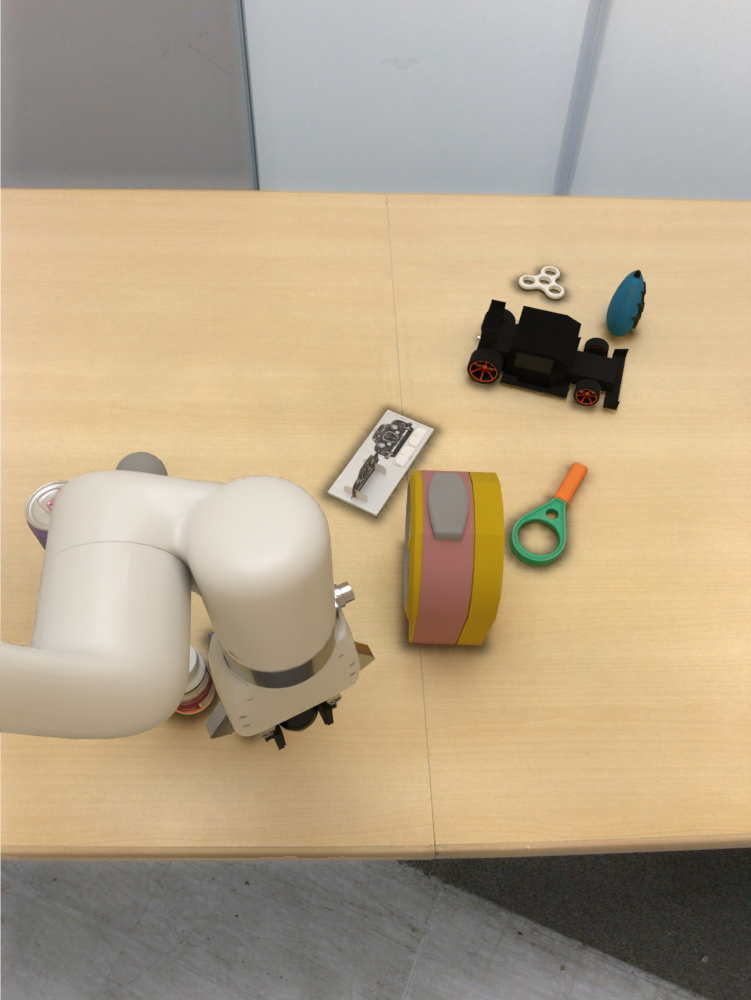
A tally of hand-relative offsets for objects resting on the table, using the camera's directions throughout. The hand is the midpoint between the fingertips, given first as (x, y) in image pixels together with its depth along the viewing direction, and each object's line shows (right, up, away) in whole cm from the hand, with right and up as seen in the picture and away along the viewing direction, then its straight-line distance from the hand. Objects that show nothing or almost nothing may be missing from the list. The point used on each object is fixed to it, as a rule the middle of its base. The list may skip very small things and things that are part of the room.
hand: (299, 720), depth 62 cm
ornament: (+41, +43, +43) cm, 73 cm away
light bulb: (-19, +17, +24) cm, 35 cm away
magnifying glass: (+27, +17, +25) cm, 40 cm away
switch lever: (-2, +3, +2) cm, 4 cm away
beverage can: (-23, +9, +19) cm, 31 cm away
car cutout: (+7, +23, +29) cm, 38 cm away
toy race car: (+29, +36, +38) cm, 60 cm away
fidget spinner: (+32, +50, +48) cm, 76 cm away
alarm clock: (+13, +8, +18) cm, 24 cm away
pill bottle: (-12, -1, +12) cm, 17 cm away
